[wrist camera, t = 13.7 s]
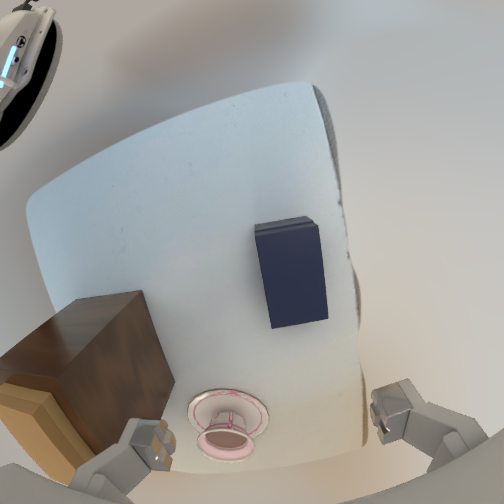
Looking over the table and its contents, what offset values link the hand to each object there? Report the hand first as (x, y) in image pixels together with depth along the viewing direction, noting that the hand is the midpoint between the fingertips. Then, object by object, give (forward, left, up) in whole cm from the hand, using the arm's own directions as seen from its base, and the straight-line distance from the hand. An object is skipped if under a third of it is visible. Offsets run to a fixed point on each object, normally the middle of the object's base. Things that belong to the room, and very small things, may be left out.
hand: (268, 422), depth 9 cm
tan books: (+17, -13, -4) cm, 22 cm away
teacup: (+24, +4, -22) cm, 33 cm away
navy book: (-1, +3, -18) cm, 18 cm away
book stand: (+17, -13, -22) cm, 31 cm away
